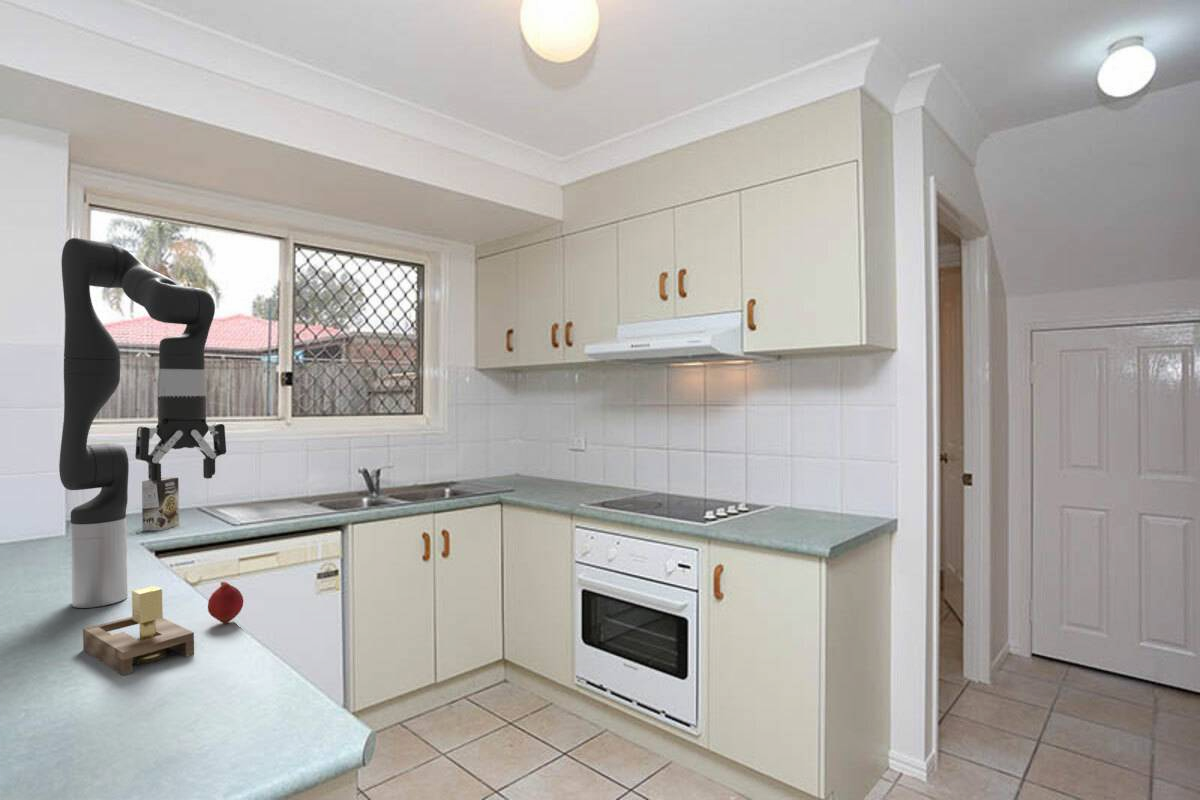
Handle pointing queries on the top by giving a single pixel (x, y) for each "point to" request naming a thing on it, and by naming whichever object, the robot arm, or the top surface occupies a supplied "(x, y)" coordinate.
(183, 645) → the keyhole plate
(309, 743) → the top surface
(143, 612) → the keyhole peg
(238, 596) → the onion
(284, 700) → the top surface
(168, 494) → the coffee box
